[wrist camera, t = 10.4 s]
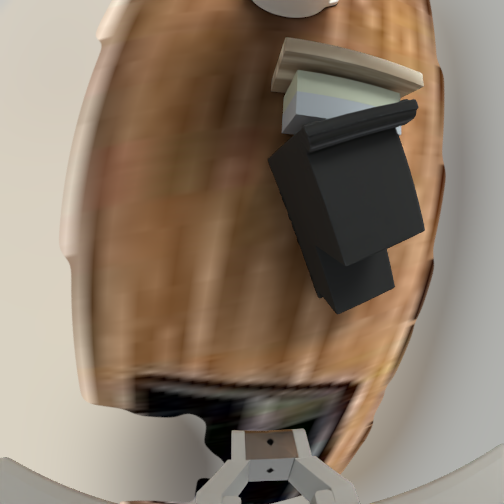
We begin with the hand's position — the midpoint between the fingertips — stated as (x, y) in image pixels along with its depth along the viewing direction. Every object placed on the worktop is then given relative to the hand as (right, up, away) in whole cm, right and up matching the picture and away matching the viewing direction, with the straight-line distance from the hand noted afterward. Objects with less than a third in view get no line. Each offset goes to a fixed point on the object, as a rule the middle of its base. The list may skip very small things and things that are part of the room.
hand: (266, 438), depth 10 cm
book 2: (+11, +27, +30) cm, 42 cm away
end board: (+11, +33, +29) cm, 45 cm away
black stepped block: (+11, +13, +33) cm, 37 cm away
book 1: (+11, +30, +30) cm, 43 cm away
